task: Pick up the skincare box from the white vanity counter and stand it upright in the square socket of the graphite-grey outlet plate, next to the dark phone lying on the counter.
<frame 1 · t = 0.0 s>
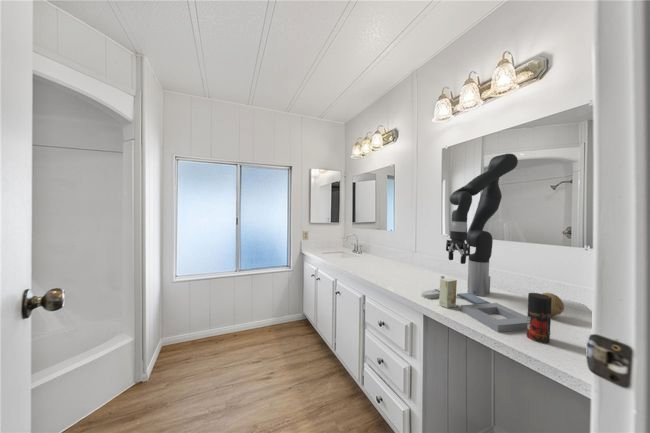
hand: (456, 261, 124), 17 cm above the worktop, tool pointing down, fingers open, 8 cm apart
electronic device: (434, 296, 122), on the worktop
deodorant: (537, 339, 83), on the worktop
outlet plate: (496, 318, 97), on the worktop
skincare box: (447, 306, 110), on the worktop
phone: (472, 300, 117), on the worktop
natural sponge: (548, 317, 100), on the worktop
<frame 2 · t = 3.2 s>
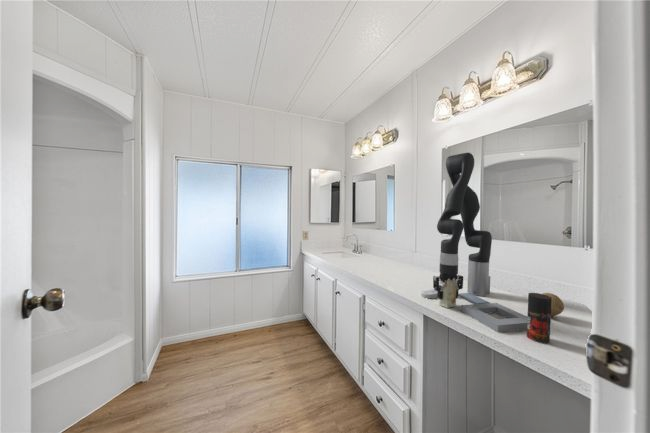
hand: (447, 298, 110), 3 cm above the worktop, tool pointing down, fingers closed on skincare box, 7 cm apart
skincare box: (447, 306, 110), on the worktop, touching gripper
everything else where it was.
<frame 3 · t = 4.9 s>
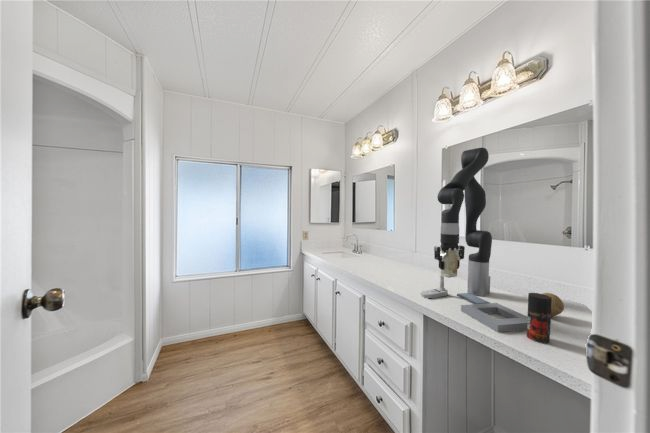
hand: (449, 268, 109), 17 cm above the worktop, tool pointing down, fingers closed on skincare box, 7 cm apart
skincare box: (448, 276, 110), point 13 cm above the worktop, touching gripper
everything else where it was.
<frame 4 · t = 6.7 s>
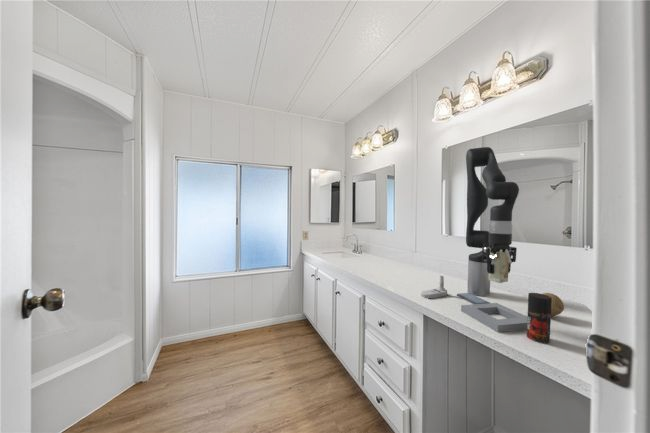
hand: (498, 272, 97), 19 cm above the worktop, tool pointing down, fingers closed on skincare box, 7 cm apart
skincare box: (498, 281, 97), point 15 cm above the worktop, touching gripper
everything else where it was.
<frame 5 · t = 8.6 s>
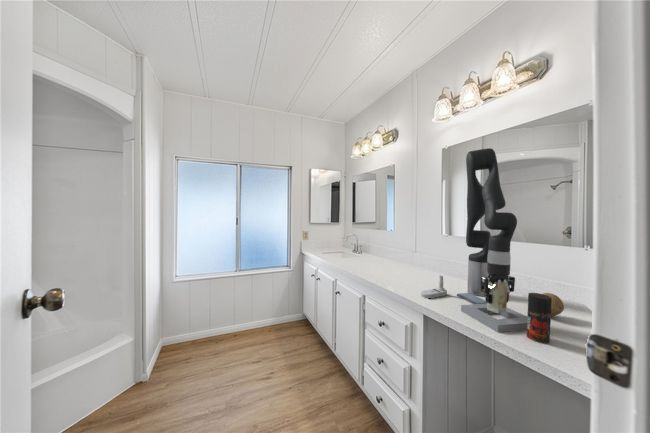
hand: (496, 302, 97), 7 cm above the worktop, tool pointing down, fingers closed on skincare box, 7 cm apart
skincare box: (496, 311, 97), point 3 cm above the worktop, touching gripper
everything else where it was.
when the fingers open (5 cm above the worktop, at t = 10.2 s): skincare box drops 1 cm, resting in outlet plate.
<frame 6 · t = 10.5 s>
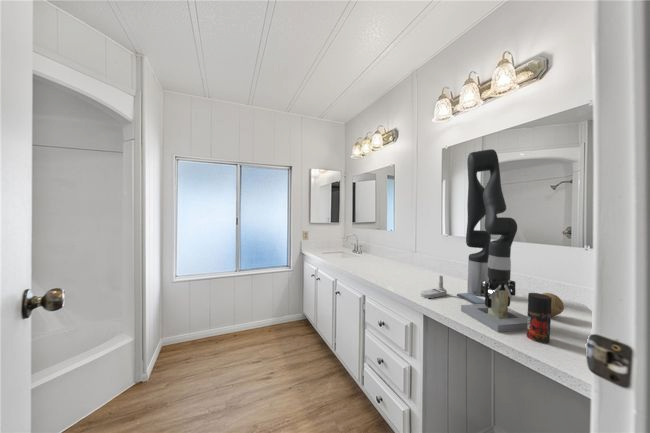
hand: (497, 306, 97), 5 cm above the worktop, tool pointing down, fingers open, 8 cm apart
skincare box: (497, 319, 97), resting in outlet plate
everything else where it was.
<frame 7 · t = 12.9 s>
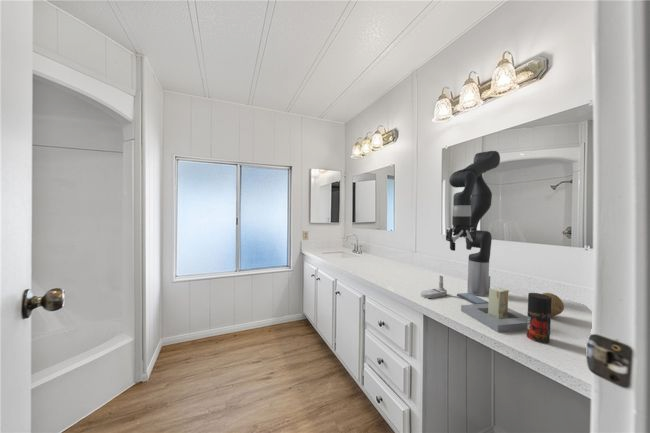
hand: (460, 249, 112), 25 cm above the worktop, tool pointing down, fingers open, 8 cm apart
nothing on the worktop moved.
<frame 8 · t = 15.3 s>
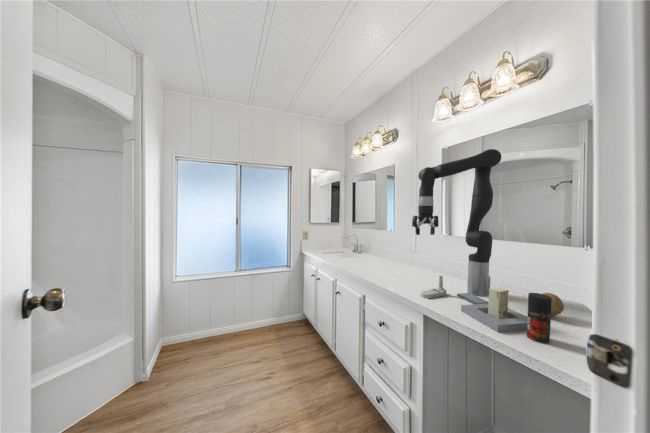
hand: (425, 234, 131), 30 cm above the worktop, tool pointing down, fingers open, 8 cm apart
nothing on the worktop moved.
at the end: skincare box inside the target area on the outlet plate (0.4 cm from its centre), point 0.0 cm above the outlet plate's base; skincare box tilted 0°; the gripper is holding nothing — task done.
